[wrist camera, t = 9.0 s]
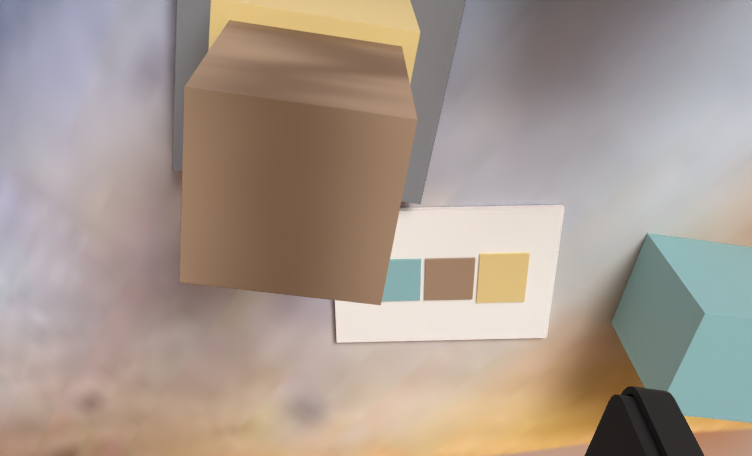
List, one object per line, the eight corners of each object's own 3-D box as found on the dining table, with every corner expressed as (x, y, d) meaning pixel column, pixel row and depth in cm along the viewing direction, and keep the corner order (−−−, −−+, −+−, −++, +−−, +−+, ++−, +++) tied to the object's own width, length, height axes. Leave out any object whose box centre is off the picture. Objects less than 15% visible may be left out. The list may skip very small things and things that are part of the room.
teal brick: (752, 246, 32) (830, 328, 26) (708, 334, 34) (772, 424, 29) (646, 232, 31) (705, 313, 26) (610, 322, 34) (657, 412, 28)
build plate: (472, -58, 25) (504, -28, 20) (418, 191, 30) (431, 270, 24) (187, -109, 24) (138, -93, 18) (179, 157, 29) (138, 232, 23)
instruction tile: (563, 204, 30) (565, 209, 30) (545, 333, 34) (547, 339, 33) (330, 209, 30) (330, 213, 30) (336, 338, 34) (336, 344, 33)
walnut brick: (401, 46, 20) (417, 119, 15) (375, 197, 23) (380, 305, 18) (229, 20, 20) (184, 86, 15) (220, 177, 22) (179, 282, 17)
